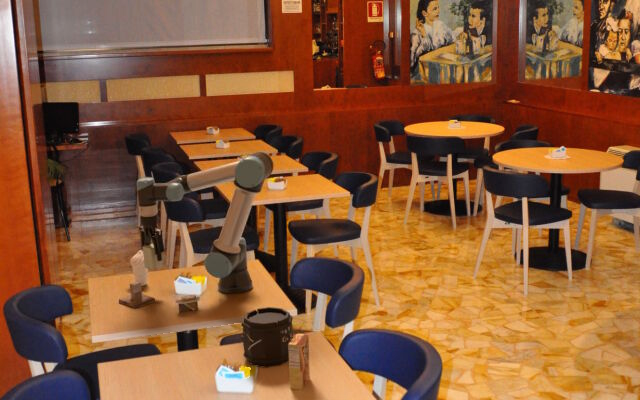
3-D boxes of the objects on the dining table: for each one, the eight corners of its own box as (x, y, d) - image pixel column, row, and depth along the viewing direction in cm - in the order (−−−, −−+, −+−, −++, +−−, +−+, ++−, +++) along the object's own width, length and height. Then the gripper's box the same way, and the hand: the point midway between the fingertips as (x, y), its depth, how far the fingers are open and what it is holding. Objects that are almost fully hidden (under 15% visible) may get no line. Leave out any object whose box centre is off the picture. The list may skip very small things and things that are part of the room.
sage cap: (164, 266, 341) (162, 245, 339) (153, 270, 337) (150, 248, 335) (156, 264, 345) (154, 243, 343) (144, 268, 341) (142, 246, 339)
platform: (214, 312, 322) (213, 297, 321) (170, 320, 316) (168, 304, 314) (207, 303, 333) (205, 288, 332) (164, 310, 327) (162, 295, 325)
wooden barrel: (246, 347, 285) (243, 306, 282) (296, 346, 284) (294, 305, 281) (238, 369, 268) (235, 325, 264) (291, 368, 267) (289, 324, 263)
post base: (155, 301, 337) (153, 282, 335) (135, 308, 329) (133, 289, 328) (138, 295, 345) (136, 277, 343) (119, 302, 337) (117, 283, 336)
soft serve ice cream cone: (138, 288, 354) (135, 254, 350) (129, 284, 360) (125, 250, 356) (154, 284, 359) (151, 250, 356) (145, 280, 365) (142, 246, 362)
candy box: (298, 376, 260) (296, 333, 257) (310, 378, 259) (308, 334, 255) (289, 389, 252) (287, 344, 248) (302, 390, 251) (300, 345, 247)
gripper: (128, 213, 340) (134, 265, 345) (154, 219, 327) (160, 272, 332) (143, 210, 345) (148, 261, 350) (169, 215, 332) (175, 268, 337)
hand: (154, 266), depth 341 cm, fingers closed on sage cap, 6 cm apart
